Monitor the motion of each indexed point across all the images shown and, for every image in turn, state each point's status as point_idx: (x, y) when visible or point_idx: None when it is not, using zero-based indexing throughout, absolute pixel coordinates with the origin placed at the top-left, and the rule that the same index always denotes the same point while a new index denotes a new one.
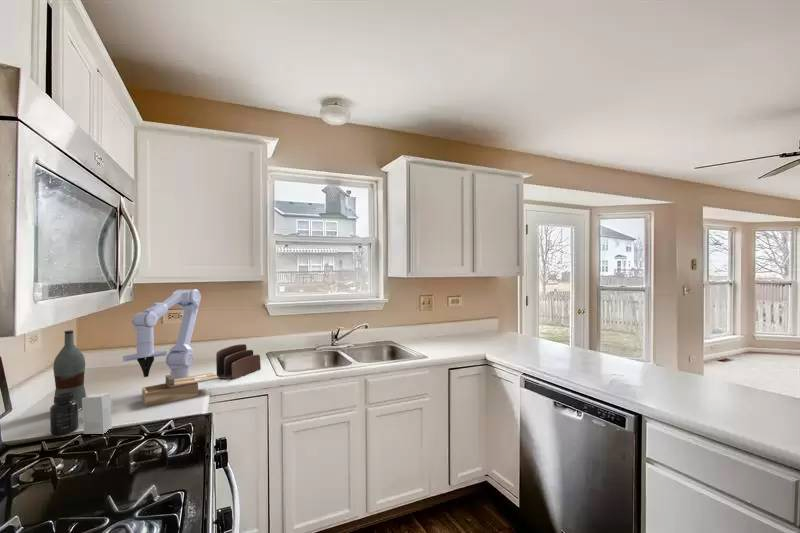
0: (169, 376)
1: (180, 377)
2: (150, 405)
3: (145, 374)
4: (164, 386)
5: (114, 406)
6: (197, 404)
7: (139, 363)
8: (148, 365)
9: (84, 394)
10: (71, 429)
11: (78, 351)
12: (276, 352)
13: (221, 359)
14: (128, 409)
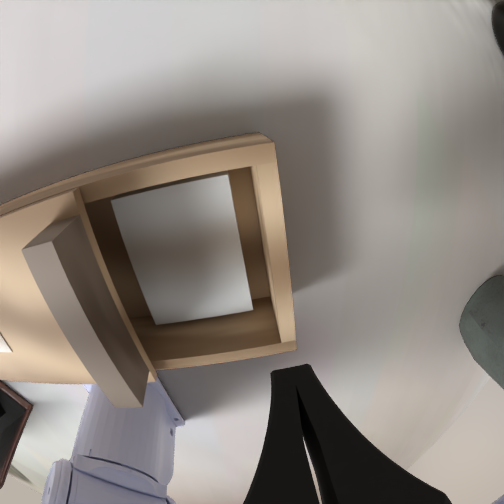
0: (97, 365)
1: (104, 417)
2: (233, 137)
3: (305, 384)
4: (162, 346)
5: (399, 260)
6: (2, 32)
7: (437, 489)
8: (292, 486)
9: (492, 337)
10: (502, 2)
11: None
12: (11, 471)
13: (3, 458)
14: (352, 147)
